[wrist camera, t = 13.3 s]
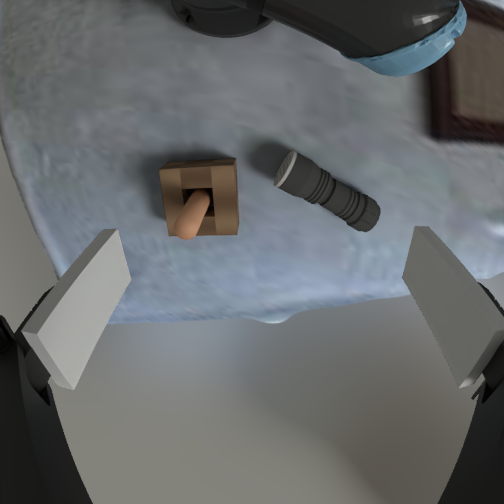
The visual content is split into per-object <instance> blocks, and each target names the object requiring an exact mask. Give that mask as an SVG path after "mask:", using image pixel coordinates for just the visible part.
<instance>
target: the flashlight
mask: <svg viewBox="0 0 504 504" xmlns="http://www.w3.org/2000/svg"><path fill="white" fill-rule="evenodd" d="M274 186H276V187H278V188H280V189H282V190H283V191H285V192H287V193H289V194H291V195H293V196H296V197H300V198H304V200H306V201H308V202H310V203H311V204H316V203H319V204H320V205H321V206H322V207H324V208H326V209H328V210H329V211H331V212H333V213H334V214H335V215H336V216H338V217H340V218H342V219H343V220H344V221H346V222H347V225H349V226H350V227H352V228H354V229H356V230H357V231H363V232H368V231H370V230H371V229H372V228H373V227H374V226H375V225H376V223H377V221H378V219H379V216H380V207H379V205H377V202H376V201H375V200H373V199H372V198H370V197H369V196H367V195H365V194H360V193H359V192H356V191H355V190H353V189H352V188H349V187H347V186H345V185H343V184H342V183H340V182H338V181H337V180H335V179H332V178H331V175H330V173H329V172H327V171H325V170H323V169H322V168H319V167H318V166H317V165H316V164H315V163H314V162H313V161H311V160H310V159H308V158H306V157H304V156H303V155H301V154H299V153H297V152H295V151H294V150H292V151H291V152H290V153H289V154H288V155H287V156H286V158H285V160H284V161H283V163H282V165H281V166H280V168H279V170H278V172H277V175H276V177H275V180H274Z"/></svg>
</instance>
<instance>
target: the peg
mask: <svg viewBox="0 0 504 504" xmlns="http://www.w3.org/2000/svg"><path fill="white" fill-rule="evenodd" d="M212 197H213V188H195V190H194V192H193V193H192V195H191V196H190V198H189V200H188V201H187V203H186V204H185V206H184V208H183V209H182V211H181V213H180V214H179V216H178V218H177V219H176V221H175V223H174V226H173V229H174V232H175V234H176V235H177V236H178V237H179V238H181V239H185V240H188V239H192V238H193V237H195V236H196V234H197V232H198V229H199V227H200V225H201V222H202V220H203V217H204V215H205V213H206V210H207V208H208V206H209V204H210V201H211V199H212Z"/></svg>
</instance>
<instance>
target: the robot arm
mask: <svg viewBox="0 0 504 504" xmlns="http://www.w3.org/2000/svg"><path fill="white" fill-rule="evenodd" d="M171 3H172V6H173V8H174V11H175V12H176V14H177V15H178V17H179V18H180V19H181V20H182V21H183V22H184V23H186V24H187V25H188V26H189V27H191V28H192V29H194V30H196V31H198V32H200V33H202V34H205V35H208V36H213V37H220V38H232V37H240V36H244V35H248V34H251V33H253V32H256V31H258V30H260V29H262V28H264V27H265V26H267V25H268V24H269V23H271V22H272V21H273V20H275V21H277V22H280V23H282V24H285V25H287V26H289V27H291V28H294V29H296V30H298V31H300V32H302V33H304V34H307V35H309V36H311V37H313V38H315V39H317V40H319V41H321V42H323V43H325V44H327V45H328V46H330V47H332V48H334V49H336V50H338V51H339V52H340V53H341V55H343V56H344V57H345V58H347V59H349V60H353V61H356V62H359V63H361V64H362V65H364V66H366V67H368V68H369V69H371V70H373V71H375V72H376V73H379V74H381V75H387V76H393V77H398V76H405V75H409V74H412V73H415V72H418V71H420V70H422V69H424V68H426V67H427V66H429V65H431V64H432V63H434V62H435V61H437V60H438V59H439V58H441V57H442V56H443V55H444V54H446V53H447V52H448V51H449V50H450V48H451V47H452V46H453V45H454V44H455V42H454V38H456V37H458V36H460V35H461V34H462V32H463V30H464V28H465V25H466V17H467V15H466V11H465V9H464V7H463V5H462V3H461V1H460V0H171ZM402 278H403V280H404V282H405V284H406V285H407V287H408V289H409V290H410V292H411V294H412V296H413V297H414V299H415V301H416V303H417V305H418V306H419V308H420V310H421V312H422V313H423V316H424V317H425V319H426V321H427V323H428V325H429V327H430V329H431V330H432V333H433V335H434V337H435V338H436V341H437V343H438V345H439V347H440V349H441V351H442V353H443V355H444V357H445V359H446V361H447V363H448V366H449V368H450V370H451V372H452V374H453V376H454V379H455V381H456V383H457V386H458V388H461V387H465V386H468V385H472V384H474V383H475V382H476V380H477V379H478V378H479V376H480V375H481V374H482V373H483V375H484V377H485V380H484V382H483V383H482V385H481V386H480V387H479V388H478V389H477V391H476V392H475V393H474V394H473V396H472V398H471V399H474V398H475V397H476V396H477V395H478V394H479V396H478V400H477V404H476V408H475V411H474V415H473V417H472V421H471V424H470V427H469V430H468V433H467V436H466V439H465V442H464V445H463V448H462V450H461V453H460V455H459V458H458V461H457V463H456V465H455V468H454V470H453V472H452V475H451V477H450V479H449V481H448V483H447V486H446V488H445V490H444V492H443V494H442V496H441V498H440V500H439V502H438V504H504V310H503V308H502V307H500V304H499V303H498V302H497V300H495V298H494V296H493V295H492V294H491V293H490V292H489V290H488V289H487V288H485V287H484V286H483V285H482V284H481V283H479V282H477V281H476V280H475V279H474V277H473V276H472V275H471V274H470V272H469V271H468V270H467V269H466V268H465V266H464V265H463V264H462V263H461V262H460V261H459V259H458V258H457V257H456V256H455V255H454V254H453V253H452V251H451V250H450V249H449V248H448V247H447V246H446V245H445V244H444V243H443V241H442V240H441V239H440V238H439V237H438V236H437V235H436V234H435V233H434V232H433V231H432V230H431V229H430V228H429V227H426V226H415V227H414V232H413V236H412V241H411V245H410V249H409V253H408V257H407V261H406V265H405V268H404V272H403V276H402ZM130 281H131V277H130V274H129V270H128V267H127V263H126V259H125V256H124V252H123V248H122V244H121V240H120V236H119V232H118V229H103V231H102V232H101V233H100V234H99V235H98V236H97V237H96V238H95V239H94V240H93V241H92V242H91V244H90V245H89V246H88V247H87V248H86V249H85V250H84V251H83V253H82V254H81V255H80V256H79V257H78V258H77V259H76V261H75V262H74V263H73V264H72V265H71V267H70V268H69V269H68V270H67V271H66V272H65V274H64V275H63V276H62V277H61V279H60V280H59V281H58V282H57V284H56V285H55V286H53V287H52V288H51V289H49V290H48V291H47V292H45V293H44V294H43V296H42V297H41V298H40V299H39V301H38V304H36V305H35V306H34V307H33V309H32V311H30V313H29V314H28V316H27V317H26V318H25V319H24V321H23V322H22V324H21V325H20V327H19V328H18V329H17V331H16V332H15V333H13V331H12V330H11V328H10V326H9V324H8V323H7V321H6V319H5V318H4V317H3V316H2V315H0V504H93V503H92V501H91V499H90V497H89V495H88V493H87V490H86V488H85V486H84V484H83V482H82V480H81V477H80V475H79V472H78V470H77V467H76V465H75V462H74V460H73V457H72V455H71V452H70V449H69V447H68V444H67V441H66V438H65V435H64V432H63V429H62V426H61V422H60V419H59V416H58V412H57V409H56V405H55V401H54V397H53V393H52V390H51V387H50V385H49V384H48V380H49V378H50V376H51V377H52V378H53V380H54V381H55V382H56V384H57V385H58V386H61V387H64V388H68V389H72V390H74V389H75V387H76V385H77V383H78V381H79V378H80V376H81V374H82V372H83V370H84V368H85V366H86V364H87V361H88V359H89V357H90V355H91V353H92V351H93V349H94V347H95V345H96V343H97V341H98V339H99V337H100V335H101V334H102V332H103V330H104V328H105V326H106V324H107V322H108V320H109V318H110V317H111V315H112V313H113V311H114V309H115V307H116V306H117V304H118V302H119V300H120V298H121V297H122V295H123V293H124V291H125V290H126V288H127V286H128V284H129V283H130Z"/></svg>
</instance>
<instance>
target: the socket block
mask: <svg viewBox="0 0 504 504" xmlns="http://www.w3.org/2000/svg"><path fill="white" fill-rule="evenodd" d="M159 175H160V182H161V190H162V196H163V203H164V210H165V216H166V222H167V228H168V234H169V236H177V235H176V234H175V232H174V229H173V226H174V223H175V221H176V219H177V218H178V216H179V214H180V213H181V211H182V209H183V208H184V206H185V204H186V203H187V201H188V200H189V198H190V190H189V189H190V188H213V200H214V206H208V208H207V210H206V213H205V215H204V217H203V220H202V222H201V225H200V227H199V229H198V232H197V234H196V236H204V235H237V233H238V227H239V210H238V191H237V171H236V159H212V160H195V161H180V162H168V163H166V164H165V165H164V166H163V167H162V168H160V169H159Z"/></svg>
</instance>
